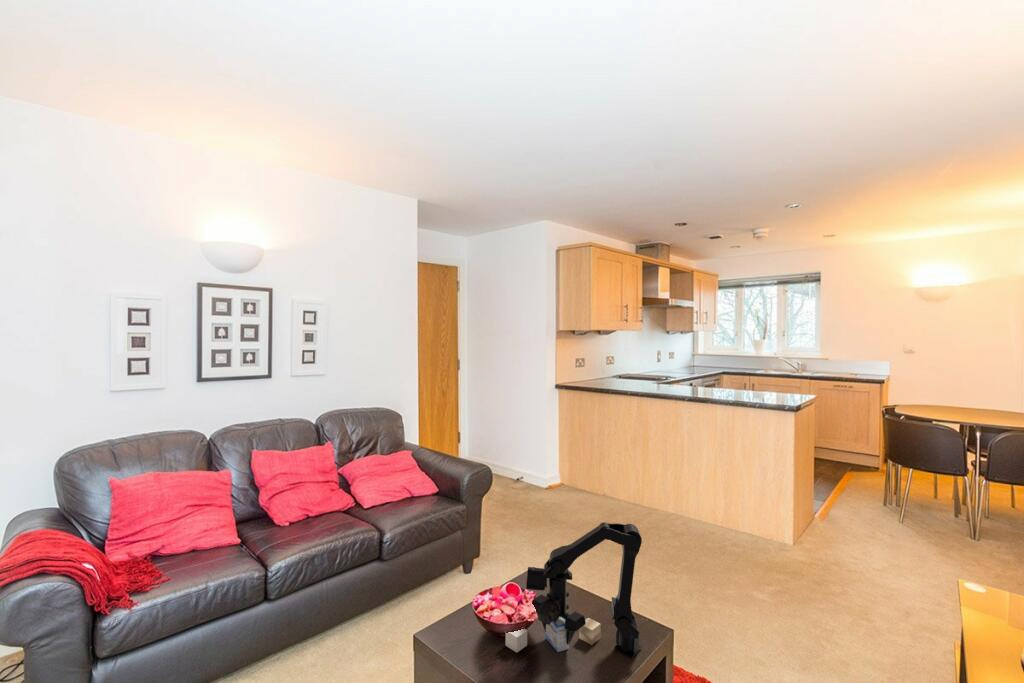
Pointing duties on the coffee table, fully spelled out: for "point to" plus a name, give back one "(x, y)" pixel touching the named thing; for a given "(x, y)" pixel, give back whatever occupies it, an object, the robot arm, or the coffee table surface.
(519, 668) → the coffee table surface
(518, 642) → the grey plastic cube
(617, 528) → the robot arm
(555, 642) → the medicine box
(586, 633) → the maple cube
